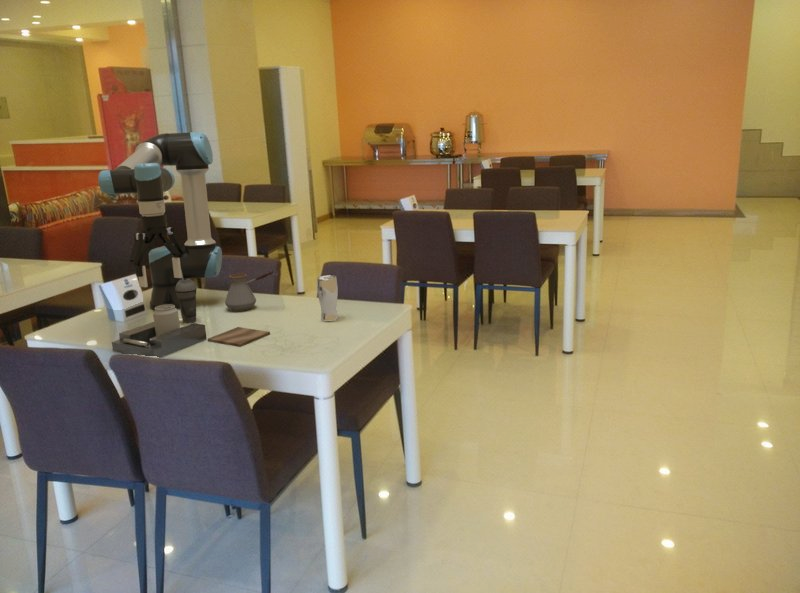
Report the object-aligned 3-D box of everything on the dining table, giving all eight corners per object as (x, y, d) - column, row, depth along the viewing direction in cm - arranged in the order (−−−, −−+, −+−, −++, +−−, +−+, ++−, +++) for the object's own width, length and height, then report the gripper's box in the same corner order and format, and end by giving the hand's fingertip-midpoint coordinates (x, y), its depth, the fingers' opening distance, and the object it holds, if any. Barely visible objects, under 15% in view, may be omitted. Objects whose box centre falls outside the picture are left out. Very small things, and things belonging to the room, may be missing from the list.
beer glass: (316, 321, 239) (313, 279, 236) (324, 316, 246) (321, 274, 242) (334, 322, 237) (332, 280, 234) (342, 317, 244) (340, 275, 240)
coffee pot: (220, 312, 256) (215, 272, 252) (234, 304, 267) (230, 266, 263) (273, 314, 251) (269, 273, 247) (286, 305, 262) (282, 267, 258)
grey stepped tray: (112, 351, 216) (110, 335, 215) (165, 332, 234) (164, 318, 232) (154, 359, 207) (152, 343, 205) (206, 339, 224) (205, 324, 223)
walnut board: (207, 341, 223) (207, 338, 222) (238, 329, 234) (238, 326, 234) (240, 346, 216) (240, 344, 215) (270, 334, 227) (269, 331, 227)
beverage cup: (197, 324, 242) (190, 268, 237) (176, 324, 242) (169, 268, 237) (202, 318, 249) (196, 263, 244) (182, 319, 249) (175, 264, 244)
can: (174, 346, 219) (169, 309, 216) (152, 345, 220) (147, 309, 217) (185, 338, 226) (181, 303, 223) (164, 338, 227) (160, 303, 224)
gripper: (127, 220, 200) (136, 291, 206) (192, 209, 221) (199, 274, 226) (110, 219, 204) (120, 289, 209) (175, 209, 225) (183, 273, 230)
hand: (161, 282), depth 218 cm, fingers open, 13 cm apart
